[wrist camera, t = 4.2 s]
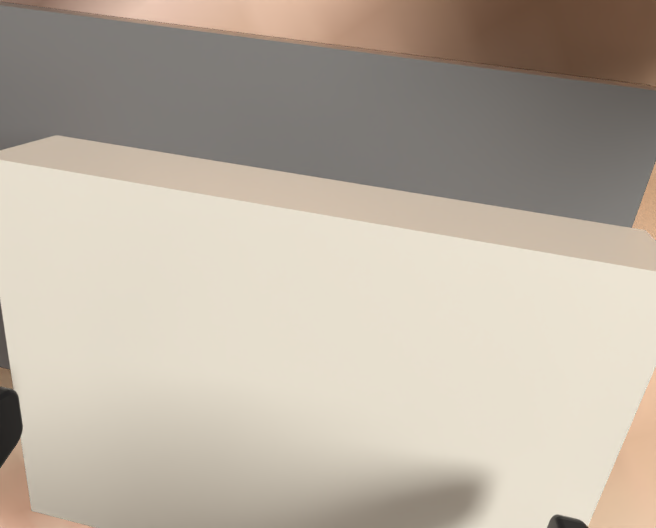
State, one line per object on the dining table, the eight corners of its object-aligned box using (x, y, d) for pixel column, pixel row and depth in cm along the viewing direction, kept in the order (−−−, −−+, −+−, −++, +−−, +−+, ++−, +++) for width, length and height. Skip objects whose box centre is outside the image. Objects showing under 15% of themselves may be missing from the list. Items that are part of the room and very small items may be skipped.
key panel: (529, 444, 19) (538, 487, 17) (-206, 286, 23) (-262, 308, 21) (649, 85, 14) (680, 93, 12) (-310, -39, 18) (-393, -46, 16)
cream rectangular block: (516, 504, 14) (538, 642, 11) (115, 412, 15) (31, 510, 12) (619, 205, 11) (692, 277, 8) (99, 123, 12) (-22, 155, 9)
